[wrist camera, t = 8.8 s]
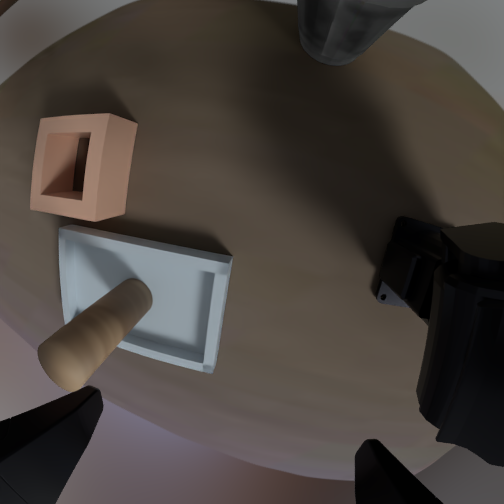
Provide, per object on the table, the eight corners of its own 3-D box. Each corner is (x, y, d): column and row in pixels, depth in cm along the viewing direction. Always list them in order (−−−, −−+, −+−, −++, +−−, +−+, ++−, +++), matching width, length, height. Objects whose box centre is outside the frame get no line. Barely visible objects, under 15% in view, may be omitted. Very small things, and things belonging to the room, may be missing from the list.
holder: (137, 123, 18) (109, 113, 14) (124, 213, 19) (95, 221, 15) (71, 124, 18) (40, 118, 14) (61, 203, 20) (30, 209, 16)
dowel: (153, 283, 20) (75, 356, 10) (152, 318, 21) (85, 400, 11) (119, 274, 20) (32, 335, 10) (119, 308, 21) (44, 378, 11)
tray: (233, 256, 19) (229, 263, 18) (216, 360, 22) (212, 373, 20) (72, 224, 20) (58, 227, 18) (75, 318, 22) (65, 326, 20)
